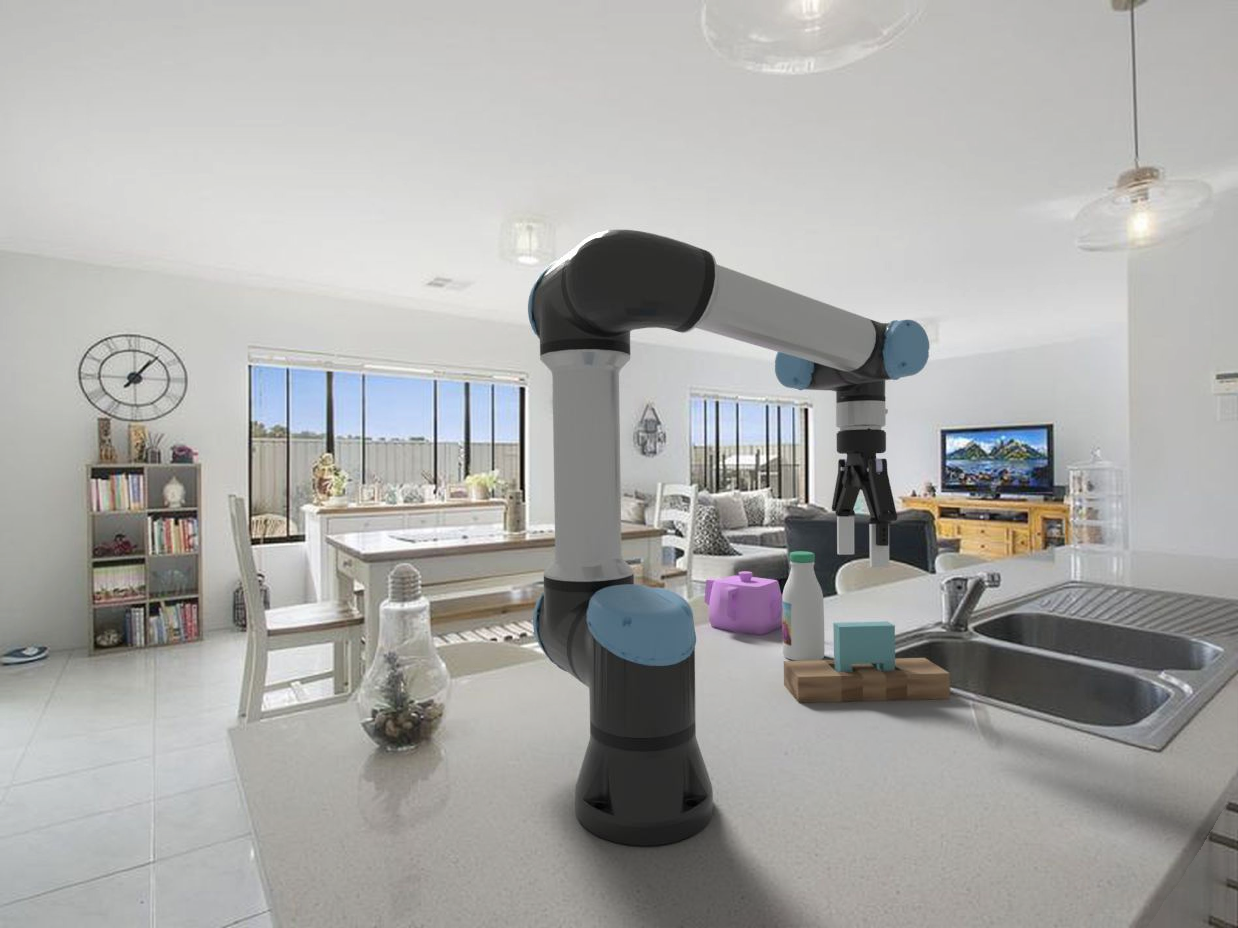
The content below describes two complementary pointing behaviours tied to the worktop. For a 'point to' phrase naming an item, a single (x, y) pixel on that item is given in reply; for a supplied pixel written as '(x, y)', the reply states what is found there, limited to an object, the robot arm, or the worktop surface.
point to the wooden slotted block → (866, 681)
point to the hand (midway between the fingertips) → (861, 560)
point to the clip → (864, 645)
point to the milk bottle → (803, 611)
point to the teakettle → (744, 603)
